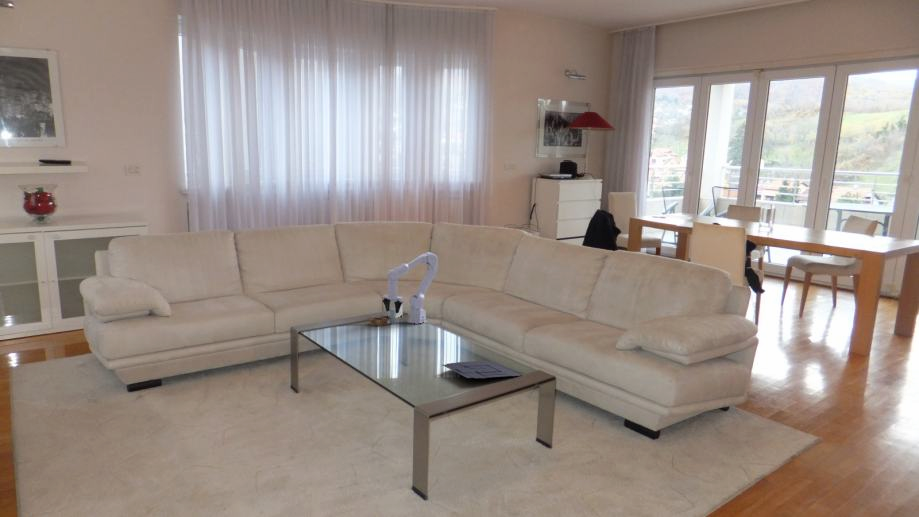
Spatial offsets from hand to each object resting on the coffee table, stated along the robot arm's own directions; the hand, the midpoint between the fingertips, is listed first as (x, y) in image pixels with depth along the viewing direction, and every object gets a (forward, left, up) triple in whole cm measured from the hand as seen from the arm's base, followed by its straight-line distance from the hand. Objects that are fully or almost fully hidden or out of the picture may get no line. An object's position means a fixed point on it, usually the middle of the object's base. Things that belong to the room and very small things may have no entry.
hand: (392, 311), depth 352 cm
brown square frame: (+5, +7, -7) cm, 11 cm away
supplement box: (+10, -14, -8) cm, 19 cm away
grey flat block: (-91, +43, -8) cm, 101 cm away
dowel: (0, 0, -7) cm, 7 cm away
